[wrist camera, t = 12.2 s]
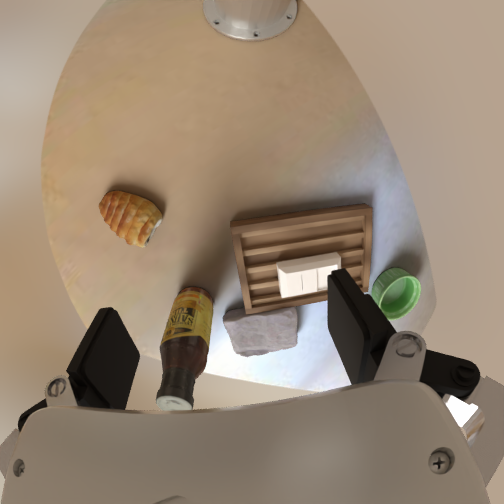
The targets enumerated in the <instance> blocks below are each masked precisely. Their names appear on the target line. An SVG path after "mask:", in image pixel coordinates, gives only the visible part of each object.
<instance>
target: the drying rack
mask: <svg viewBox="0 0 504 504" xmlns="http://www.w3.org/2000/svg"><path fill="white" fill-rule="evenodd" d="M230 228H231V234H232V240H233V245H234V251H235V257H236V262H237V268H238V273H239V279H240V284H241V290H242V295H243V300H244V306H245V311H246V314H253V313H259V312H265V311H271V310H277V309H283V308H289V307H295V306H300V305H306V304H311V303H316V302H321V301H326V300H328V291H327V290H323V291H318V292H312V293H307V294H302V295H297V296H291V297H286V298H282V297H281V294H280V289H279V280H278V271H277V262H282V261H288V260H294V259H300V258H305V257H311V256H317V255H323V254H329V253H334V252H337V253H338V254H339V256H340V257H341V269H342V268H345V269H346V270H347V271H348V273H349V274H350V275H351V277H352V278H353V279H354V281H355V282H356V284H357V285H358V286H359V288H360V289H361V290H362V292H363V293H364V292H368V288H369V277H370V263H371V245H372V207H370V206H368V205H367V204H365V203H364V204H356V205H347V206H339V207H331V208H323V209H315V210H308V211H300V212H293V213H286V214H279V215H272V216H265V217H258V218H252V219H245V220H239V221H232V222H230Z"/></svg>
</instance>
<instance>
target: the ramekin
mask: <svg viewBox="0 0 504 504" xmlns="http://www.w3.org/2000/svg"><path fill="white" fill-rule="evenodd" d="M420 294H421V284H420V282H419V280H418V279H417V278H416V277H414V276H413V275H410V274H409V273H407V272H406V271H405V270H403V269H401V268H391V269H388V270H386V271H385V272H383V273H382V274H381V275H380V276H379V277H378V278H377V280H376V281H375V283H374V285H373V288H372V298H373V299H374V301H375V302H376V303H377V305H378V306H379V308H380V309H381V310H382V312H383V313H384V315H385V316H386V317H387V319H388V320H397V319H399V318H402V317H403V316H405V315H406V314H408V313H409V312H410V311H411V310H412V309H413V308H414V306H415V305H416V303H417V302H418V300H419V297H420Z"/></svg>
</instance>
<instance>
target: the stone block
mask: <svg viewBox="0 0 504 504" xmlns="http://www.w3.org/2000/svg"><path fill="white" fill-rule="evenodd" d="M297 321H298V319H297V311H296V308H295V307H289V308H283V309H277V310H271V311H265V312H259V313H253V314H246V311H245V308H240V309H234V310H230V311H228V312H227V313H226V314H225V315H224V316H223V323H224V326H225V328H226V330H227V333H228V334H229V336H230V339H231V342H232V346H233V349H234V351H235V352H236V354H240V355H241V356H245V357H249V356H252V355H263V354H266V353H269V352H275V351H279V350H281V349H288V348H292V347H295V346H296V345H297Z"/></svg>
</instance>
